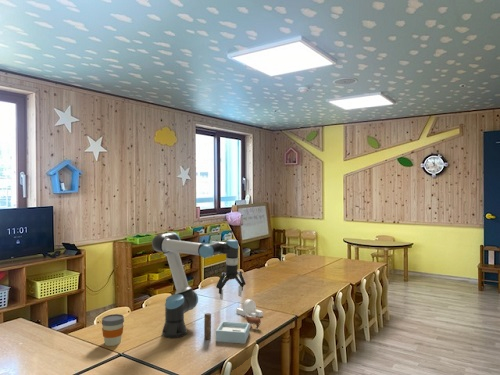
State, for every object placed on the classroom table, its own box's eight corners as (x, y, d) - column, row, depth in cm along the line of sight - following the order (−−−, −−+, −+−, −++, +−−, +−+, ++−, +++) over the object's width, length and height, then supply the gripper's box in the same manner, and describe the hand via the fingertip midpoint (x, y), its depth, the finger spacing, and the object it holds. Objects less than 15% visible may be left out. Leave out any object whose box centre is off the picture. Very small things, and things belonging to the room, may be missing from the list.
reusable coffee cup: (114, 336, 226) (114, 312, 227) (128, 341, 220) (128, 316, 220) (96, 344, 216) (97, 318, 216) (111, 349, 209) (111, 322, 209)
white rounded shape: (262, 316, 266) (262, 301, 266) (253, 319, 259) (253, 304, 259) (245, 310, 279) (245, 296, 279) (236, 313, 272) (236, 298, 272)
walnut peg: (203, 339, 223) (203, 315, 223) (205, 337, 227) (205, 313, 227) (209, 340, 222) (210, 315, 222) (211, 337, 226) (211, 313, 226)
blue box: (215, 341, 221) (215, 330, 221) (222, 331, 237) (222, 321, 237) (244, 343, 218) (245, 332, 218) (249, 333, 234) (249, 323, 234)
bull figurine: (246, 324, 249) (246, 312, 249) (261, 329, 241) (261, 316, 241) (242, 326, 246) (242, 314, 246) (257, 331, 237) (257, 318, 238)
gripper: (217, 267, 222) (215, 302, 222) (251, 263, 235) (250, 296, 235) (211, 264, 228) (210, 298, 228) (245, 261, 241) (244, 293, 241)
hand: (230, 297), depth 232 cm, fingers open, 13 cm apart
